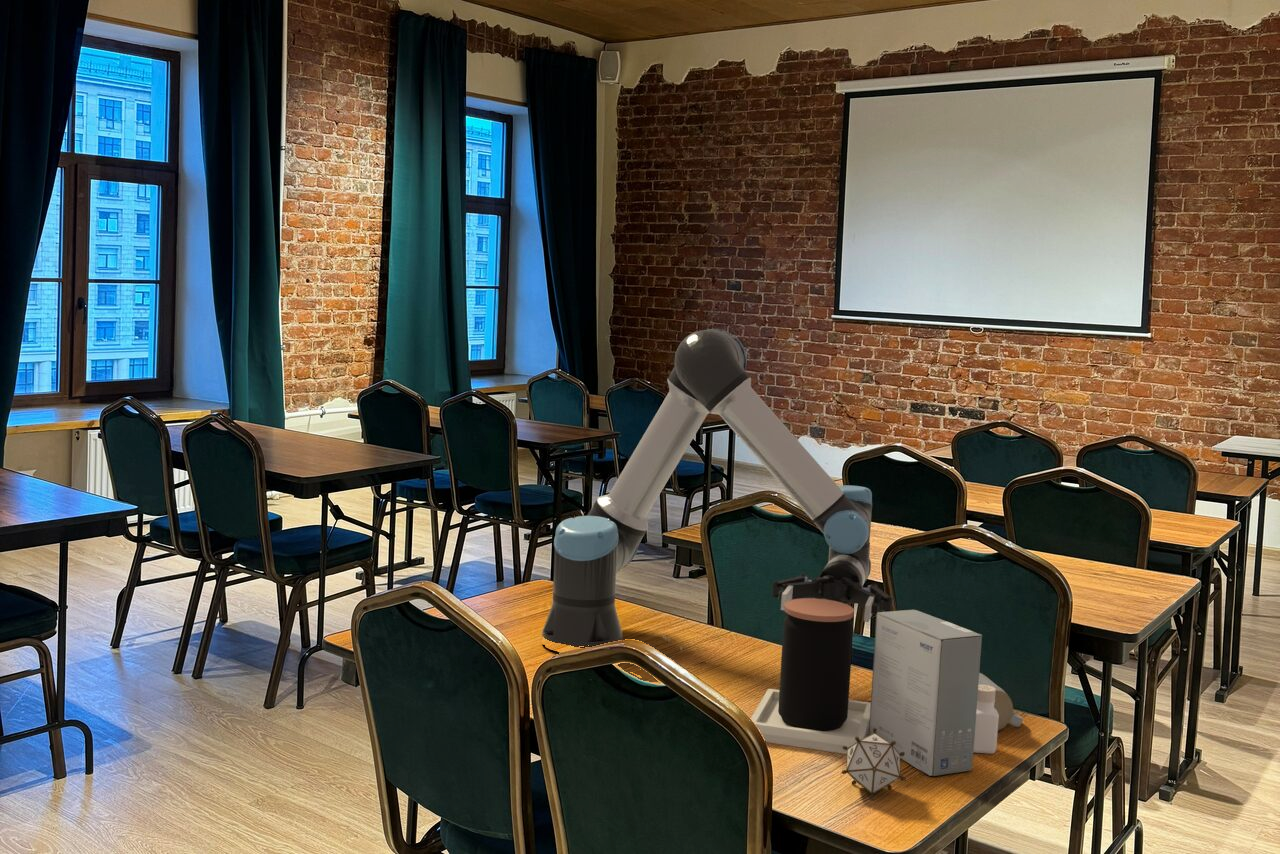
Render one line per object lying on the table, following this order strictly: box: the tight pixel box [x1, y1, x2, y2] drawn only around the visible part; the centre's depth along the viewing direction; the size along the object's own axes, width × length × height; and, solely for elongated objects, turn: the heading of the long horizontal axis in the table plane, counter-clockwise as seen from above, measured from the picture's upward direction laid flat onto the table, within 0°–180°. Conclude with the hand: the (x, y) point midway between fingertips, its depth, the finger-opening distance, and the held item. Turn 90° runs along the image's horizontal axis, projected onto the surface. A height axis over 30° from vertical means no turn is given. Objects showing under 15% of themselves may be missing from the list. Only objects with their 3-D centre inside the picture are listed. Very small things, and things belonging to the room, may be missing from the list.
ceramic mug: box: [978, 672, 1024, 731], centre depth 185 cm, size 11×8×8 cm
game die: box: [840, 727, 907, 801], centre depth 157 cm, size 9×8×10 cm
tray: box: [750, 688, 871, 755], centre depth 180 cm, size 17×17×2 cm
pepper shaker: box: [973, 685, 999, 755], centre depth 174 cm, size 4×4×10 cm
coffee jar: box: [778, 597, 855, 731], centre depth 179 cm, size 11×11×18 cm
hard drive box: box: [868, 609, 983, 777], centre depth 170 cm, size 16×8×20 cm, turn 25°
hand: (824, 608), depth 190 cm, fingers open, 13 cm apart
